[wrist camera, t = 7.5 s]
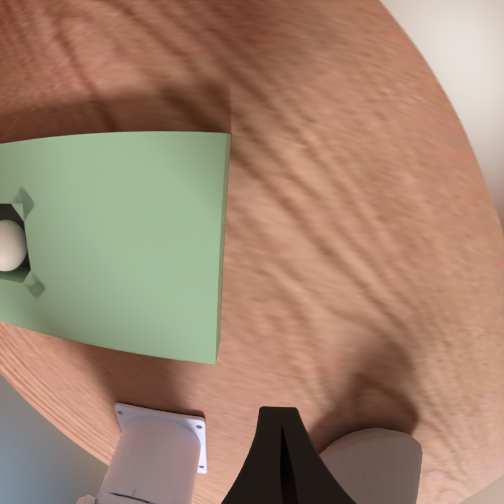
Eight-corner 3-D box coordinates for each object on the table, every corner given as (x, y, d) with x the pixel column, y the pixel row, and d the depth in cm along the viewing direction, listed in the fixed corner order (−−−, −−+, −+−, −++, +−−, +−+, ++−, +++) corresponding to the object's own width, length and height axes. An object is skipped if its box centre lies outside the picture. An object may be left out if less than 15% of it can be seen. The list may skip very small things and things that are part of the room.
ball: (41, 253, 19) (19, 280, 16) (8, 256, 19) (-14, 281, 16) (28, 209, 17) (2, 231, 14) (-5, 214, 17) (-32, 236, 14)
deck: (219, 340, 21) (215, 364, 18) (-3, 301, 20) (-19, 314, 18) (231, 134, 16) (226, 133, 14) (-23, 148, 16) (-44, 152, 14)
